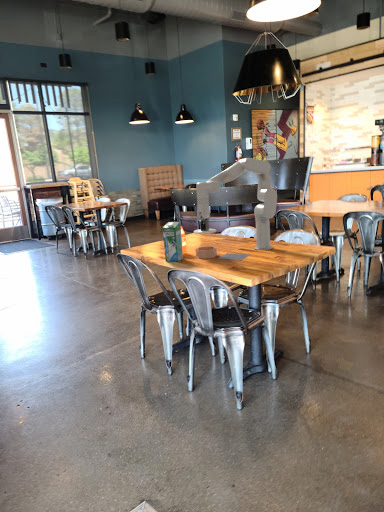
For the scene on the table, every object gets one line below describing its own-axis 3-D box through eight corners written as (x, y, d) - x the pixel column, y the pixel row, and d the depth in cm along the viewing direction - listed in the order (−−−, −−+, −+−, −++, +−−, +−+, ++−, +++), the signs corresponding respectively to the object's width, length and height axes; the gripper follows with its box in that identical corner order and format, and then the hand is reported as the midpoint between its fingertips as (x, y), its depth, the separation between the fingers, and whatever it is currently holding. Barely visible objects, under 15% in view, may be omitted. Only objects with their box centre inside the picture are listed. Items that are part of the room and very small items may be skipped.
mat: (227, 254, 262) (227, 253, 262) (250, 255, 254) (250, 254, 254) (216, 260, 248) (216, 259, 247) (241, 261, 239) (241, 260, 239)
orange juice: (175, 252, 280) (173, 225, 276) (186, 252, 276) (184, 225, 272) (170, 254, 273) (168, 227, 269) (181, 255, 269) (179, 227, 265)
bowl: (202, 254, 267) (201, 246, 265) (219, 255, 260) (218, 246, 259) (193, 258, 256) (192, 249, 255) (210, 259, 250) (210, 250, 248)
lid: (200, 230, 264) (199, 218, 263) (220, 230, 257) (219, 218, 255) (189, 233, 252) (188, 221, 250) (210, 234, 244) (209, 221, 243)
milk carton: (165, 261, 254) (162, 223, 249) (171, 258, 263) (168, 221, 257) (177, 261, 251) (174, 223, 246) (183, 258, 259) (180, 221, 254)
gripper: (203, 200, 259) (205, 227, 263) (191, 202, 245) (193, 231, 249) (213, 199, 255) (215, 227, 259) (202, 202, 241) (204, 231, 245)
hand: (204, 228), depth 254 cm, fingers closed on lid, 4 cm apart
